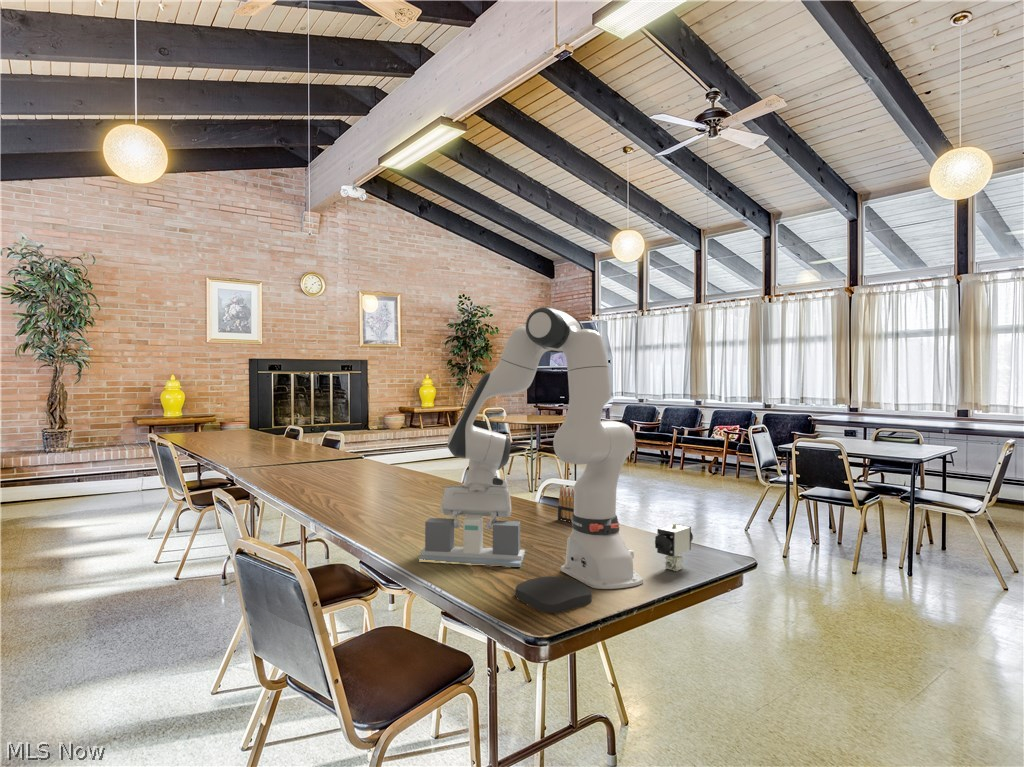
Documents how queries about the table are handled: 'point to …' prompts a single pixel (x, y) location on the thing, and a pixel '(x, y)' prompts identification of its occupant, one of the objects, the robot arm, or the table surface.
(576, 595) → the media streaming box
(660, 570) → the table surface
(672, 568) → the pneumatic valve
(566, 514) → the ammunition clip
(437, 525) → the twin block stand
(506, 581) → the table surface
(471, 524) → the block
